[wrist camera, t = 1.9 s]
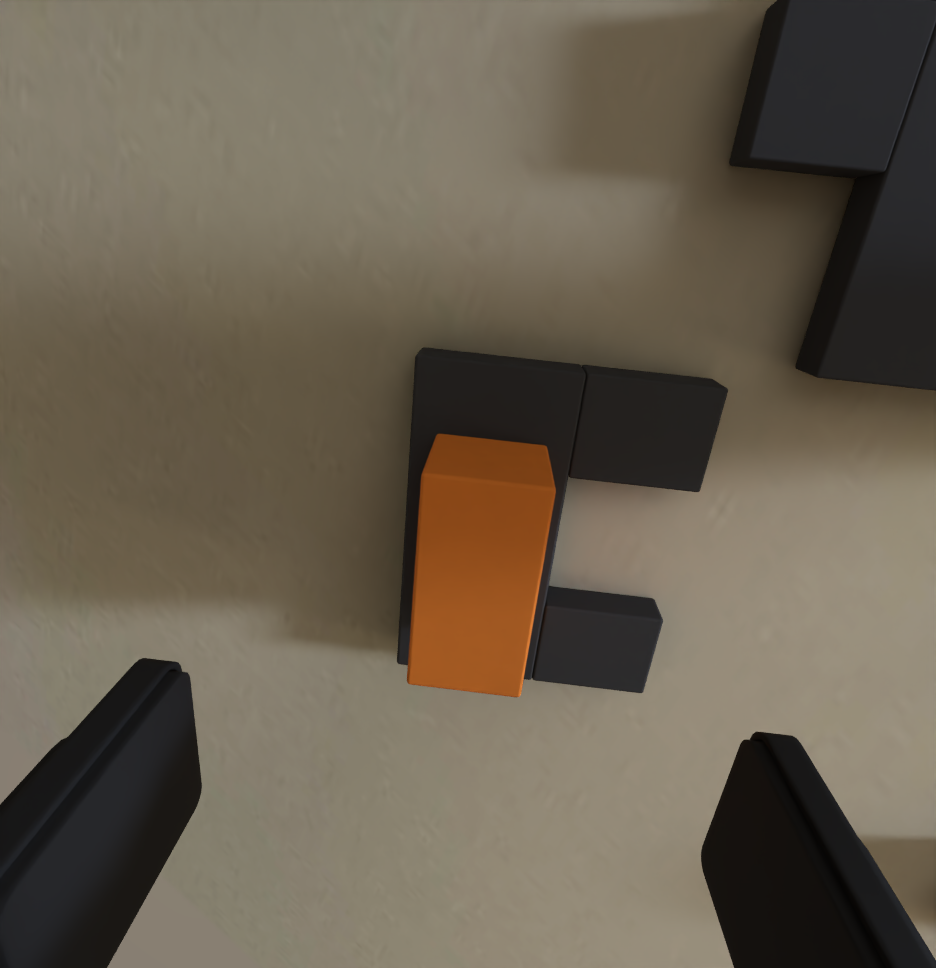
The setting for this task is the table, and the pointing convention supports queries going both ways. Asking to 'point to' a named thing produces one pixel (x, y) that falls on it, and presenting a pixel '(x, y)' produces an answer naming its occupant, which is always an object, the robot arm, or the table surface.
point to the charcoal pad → (858, 172)
